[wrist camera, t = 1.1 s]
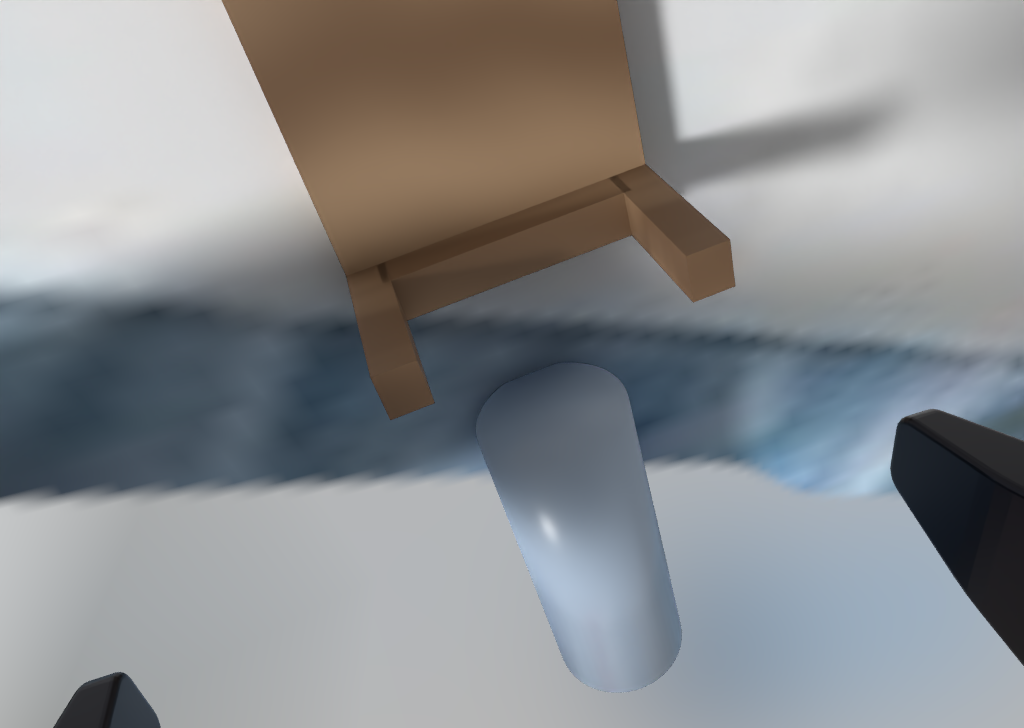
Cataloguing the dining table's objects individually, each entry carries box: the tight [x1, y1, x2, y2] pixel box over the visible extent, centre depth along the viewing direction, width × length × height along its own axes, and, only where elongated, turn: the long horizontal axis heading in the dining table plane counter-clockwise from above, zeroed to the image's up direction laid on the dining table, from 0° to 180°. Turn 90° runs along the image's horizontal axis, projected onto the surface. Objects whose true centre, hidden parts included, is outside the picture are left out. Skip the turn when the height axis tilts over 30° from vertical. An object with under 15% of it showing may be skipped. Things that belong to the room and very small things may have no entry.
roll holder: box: [222, 0, 735, 420], centre depth 17 cm, size 11×8×6 cm
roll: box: [476, 362, 682, 693], centre depth 27 cm, size 11×4×4 cm, turn 15°
